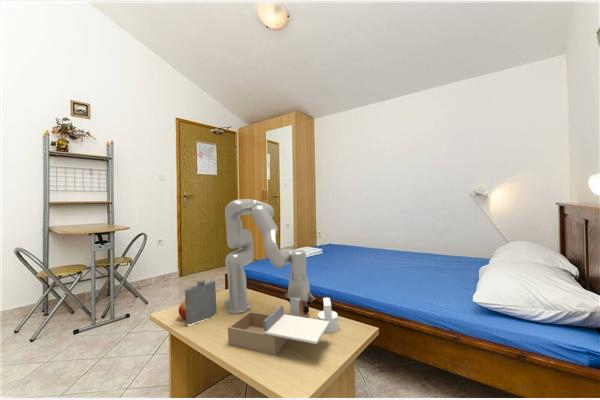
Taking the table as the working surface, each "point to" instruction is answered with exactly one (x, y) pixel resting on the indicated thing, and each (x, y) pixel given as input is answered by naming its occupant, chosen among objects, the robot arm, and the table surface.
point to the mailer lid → (294, 327)
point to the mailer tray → (254, 334)
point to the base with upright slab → (329, 316)
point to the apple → (182, 310)
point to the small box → (297, 308)
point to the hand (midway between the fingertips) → (299, 312)
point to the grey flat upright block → (200, 301)
